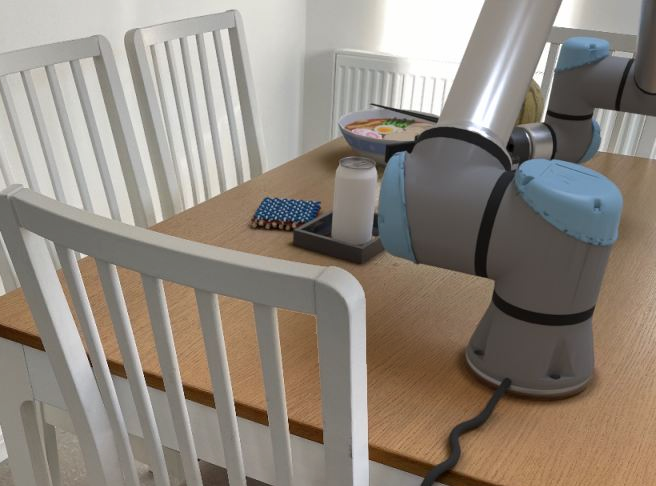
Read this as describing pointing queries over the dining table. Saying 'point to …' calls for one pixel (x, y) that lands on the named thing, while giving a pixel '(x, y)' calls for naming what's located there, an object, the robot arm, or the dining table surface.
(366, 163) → the can
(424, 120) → the ramen bowl
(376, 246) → the tray
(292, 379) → the dining table surface
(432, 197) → the robot arm
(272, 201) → the woven mat
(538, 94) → the cantaloupe
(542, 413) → the dining table surface
